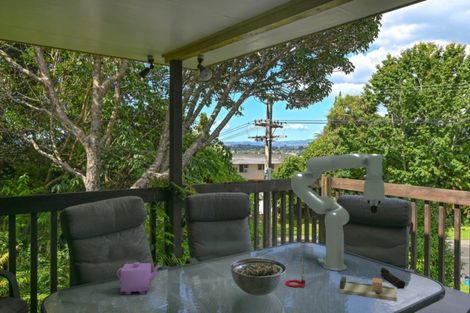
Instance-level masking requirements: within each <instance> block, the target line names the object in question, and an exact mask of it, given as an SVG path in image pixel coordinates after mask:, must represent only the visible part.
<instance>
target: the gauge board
mask: <svg viewBox="0 0 470 313" xmlns="http://www.w3.org/2000/svg"><path fill="white" fill-rule="evenodd" d="M337 293H341V294H345V295H346V294H347V295H353V296H358V297H366V298H373V299H380V300H387V301H392V302H397V298H398V297H397V287H393V286H388V285H382V292H378V293H376V291H372V283H365V282H360V281H353V280H347V277H346V276H341V277H340V279H339V285H338V288H337Z"/></svg>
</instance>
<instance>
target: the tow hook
mask: <svg viewBox="0 0 470 313" xmlns="http://www.w3.org/2000/svg"><path fill="white" fill-rule="evenodd" d="M300 276H301V277H300V278H301V280H299V279H289V280H286V281H285V286H286V287H289V288H300V287H301V288H302V289H303V288H305V286H306V279H305V278H306V277H305V276H306V275H305V264H304V258H303V257H302V258H301V274H300ZM292 283H297V284H292Z"/></svg>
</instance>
